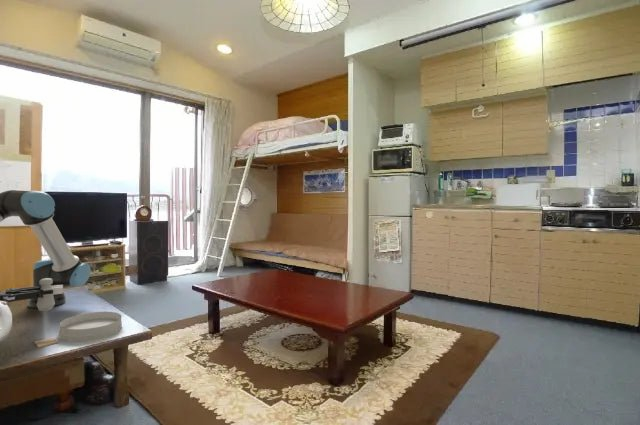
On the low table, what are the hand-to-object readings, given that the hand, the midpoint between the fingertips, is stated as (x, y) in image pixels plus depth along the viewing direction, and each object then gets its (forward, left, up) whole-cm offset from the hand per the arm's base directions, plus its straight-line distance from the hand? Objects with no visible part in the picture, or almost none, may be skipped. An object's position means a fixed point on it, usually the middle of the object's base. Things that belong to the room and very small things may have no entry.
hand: (62, 289), depth 143 cm
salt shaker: (0, -5, -8) cm, 10 cm away
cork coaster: (+14, -5, -17) cm, 23 cm away
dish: (+9, +10, -18) cm, 22 cm away
